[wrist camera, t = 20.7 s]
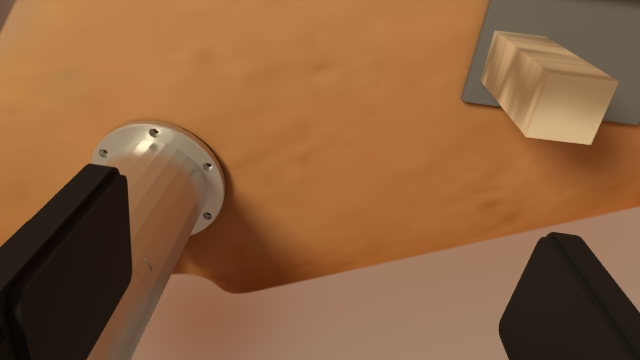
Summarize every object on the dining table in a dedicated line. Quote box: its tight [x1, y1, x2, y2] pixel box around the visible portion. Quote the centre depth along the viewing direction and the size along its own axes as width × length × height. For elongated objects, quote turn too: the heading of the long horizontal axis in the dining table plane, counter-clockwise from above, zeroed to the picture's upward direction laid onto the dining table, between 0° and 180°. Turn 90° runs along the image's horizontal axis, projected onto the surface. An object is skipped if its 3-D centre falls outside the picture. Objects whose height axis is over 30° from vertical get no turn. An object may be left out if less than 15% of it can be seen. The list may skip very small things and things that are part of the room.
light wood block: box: [480, 31, 619, 145], centre depth 32 cm, size 4×4×11 cm
